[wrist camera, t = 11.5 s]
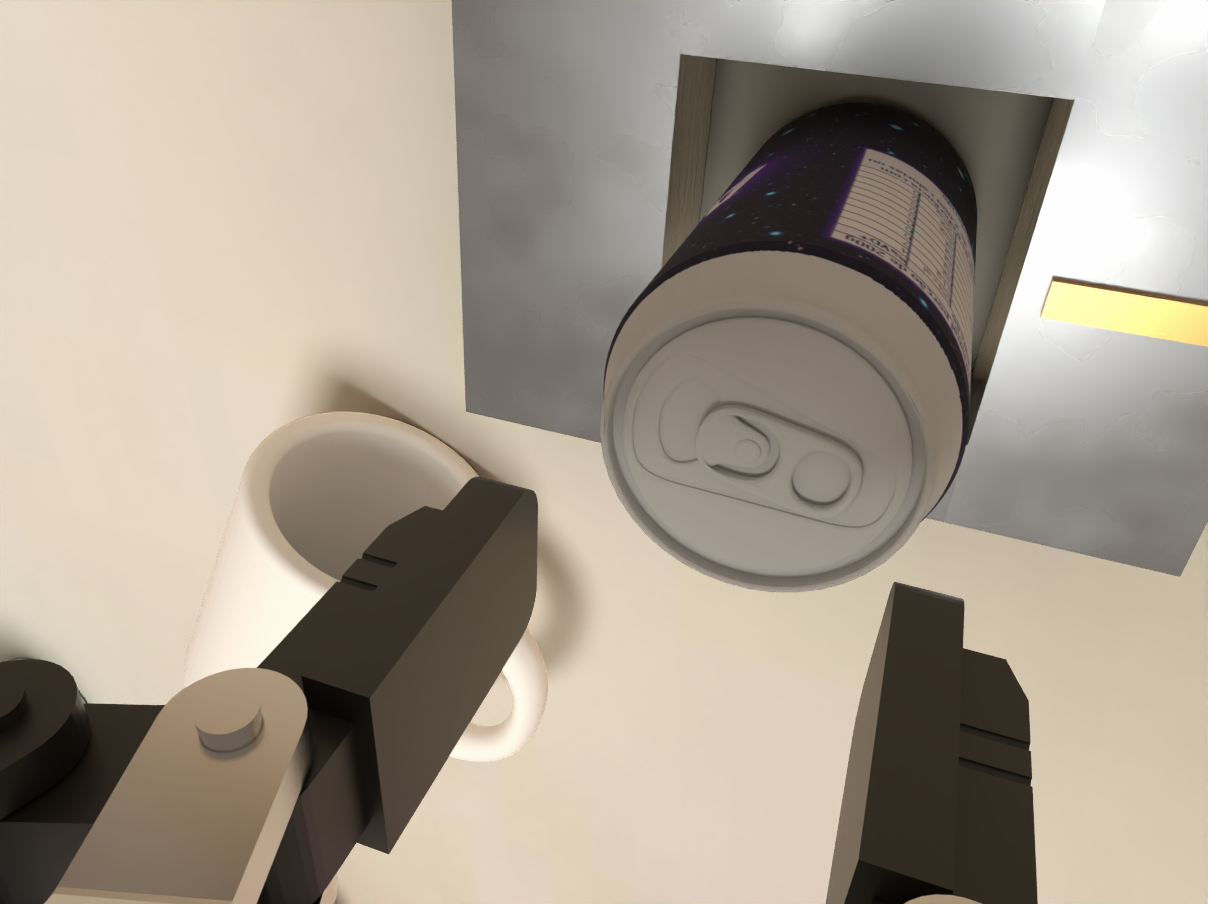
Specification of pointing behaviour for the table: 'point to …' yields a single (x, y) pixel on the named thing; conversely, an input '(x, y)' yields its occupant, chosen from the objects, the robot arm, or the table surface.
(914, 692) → the robot arm
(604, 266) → the jig
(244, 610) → the mug
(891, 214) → the beverage can
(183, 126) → the table surface
